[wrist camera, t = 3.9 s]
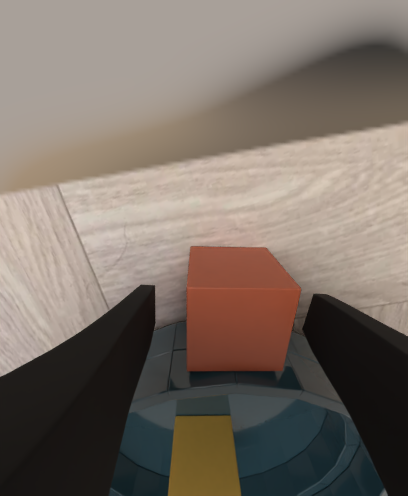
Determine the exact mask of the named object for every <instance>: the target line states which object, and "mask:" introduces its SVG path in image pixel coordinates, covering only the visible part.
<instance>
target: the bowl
mask: <svg viewBox="0 0 408 496" xmlns="http://www.w3.org/2000/svg"><path fill="white" fill-rule="evenodd" d="M209 415H230V416H231V421H232V429H233V436H234V444H235V451H236V459H237V466H238V474H239V482H240V489H241V496H388V495H387V492H386V490H385V488H384V486H383V483H382V481H381V479H380V477H379V475H378V473H377V470H376V468H375V466H374V464H373V462H372V460H371V457H370V455H369V453H368V451H367V449H366V447H365V445H364V443H363V441H362V439H361V437H360V435H359V433H358V431H357V429H356V427H355V425H354V423H353V421H352V419H351V417H350V415H349V413H348V411H347V410H346V408H345V406H344V404H343V403H342V401H341V399H340V398H339V396H338V394H337V393H336V391H335V389H334V388H333V386H332V384H331V383H330V381H329V379H328V378H327V376H326V374H325V373H324V371H323V369H322V368H321V366H320V364H319V362H318V361H317V359H316V357H315V356H314V354H313V352H312V350H311V348H310V346H309V344H308V341H307V339H306V337H305V336H302V335H300V334H297V333H295V332H291V336H290V341H289V345H288V349H287V354H286V358H285V362H284V366H283V370H282V371H187V321H185V322H178V323H174V324H171V325H169V326H166V327H163V328H160V329H158V330H155V331H154V332H153V337H152V341H151V346H150V349H149V352H148V355H147V358H146V361H145V364H144V367H143V370H142V373H141V376H140V379H139V382H138V385H137V388H136V391H135V394H134V397H133V400H132V403H131V406H130V410H129V413H128V417H127V421H126V425H125V429H124V433H123V437H122V441H121V446H120V450H119V454H118V458H117V462H116V467H115V471H114V475H113V479H112V484H111V488H110V492H109V496H168V489H169V478H170V467H171V456H172V446H173V435H174V424H175V417H176V416H209Z"/></svg>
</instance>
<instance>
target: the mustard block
mask: <svg viewBox="0 0 408 496" xmlns="http://www.w3.org/2000/svg"><path fill="white" fill-rule="evenodd" d="M168 496H241V489H240V482H239V474H238V466H237V459H236V451H235V444H234V436H233V429H232V421H231V416H230V415H209V416H176V417H175V424H174V435H173V446H172V456H171V467H170V478H169V489H168Z"/></svg>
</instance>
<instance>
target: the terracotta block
mask: <svg viewBox="0 0 408 496" xmlns="http://www.w3.org/2000/svg"><path fill="white" fill-rule="evenodd" d="M300 293H301V288H300V287H299V285H298V284H297V283H296V282H295V281H294V280H293V278H292V277H291V276H290V275H289V274H288V273H287V272H286V270H285V269H284V268H283V267H282V266H281V265H280V263H279V262H278V261H277V260H276V259H275V258H274V256H273V255H272V254H271V253H270V252H269V251H268V249H267V248H246V247H190V258H189V268H188V278H187V371H282V370H283V366H284V362H285V358H286V354H287V349H288V345H289V341H290V336H291V332H292V328H293V323H294V319H295V315H296V310H297V306H298V302H299V298H300Z"/></svg>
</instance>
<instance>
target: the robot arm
mask: <svg viewBox="0 0 408 496" xmlns="http://www.w3.org/2000/svg"><path fill="white" fill-rule="evenodd" d="M154 327H155V285H140V286H139V287H138V288H136V289H135V290H134V291H133V292H132V293H130V294H129V295H128V296H127V297H126V298H124V299H123V300H122V301H121V302H120V303H118V304H117V305H116V306H115V307H113V308H112V309H111V310H110V311H108V312H107V313H106V314H104V315H103V316H102V317H100V318H99V319H98V320H96V321H95V322H93V323H92V324H91V325H89V326H88V327H87V328H85V329H84V330H82V331H81V332H79V333H78V334H76V335H75V336H73V337H71V338H70V339H68V340H67V341H65V342H63V343H62V344H60V345H58V346H57V347H55V348H53V349H52V350H50V351H48V352H46V353H45V354H43V355H41V356H39V357H37V358H35V359H34V360H32V361H30V362H28V363H26V364H24V365H23V366H21V367H19V368H17V369H15V370H13V371H12V372H10V373H8V374H6V375H4V376H2V377H0V496H109V492H110V488H111V484H112V479H113V475H114V471H115V467H116V462H117V458H118V454H119V450H120V446H121V441H122V437H123V433H124V429H125V425H126V421H127V417H128V413H129V410H130V406H131V403H132V400H133V397H134V394H135V391H136V388H137V385H138V382H139V379H140V376H141V373H142V370H143V367H144V364H145V361H146V358H147V355H148V352H149V349H150V346H151V341H152V337H153V332H154ZM303 332H304V334H305V337H306V339H307V341H308V344H309V346H310V348H311V350H312V352H313V354H314V356H315V357H316V359H317V361H318V362H319V364H320V366H321V368H322V369H323V371H324V373H325V374H326V376H327V378H328V379H329V381H330V383H331V384H332V386H333V388H334V389H335V391H336V393H337V394H338V396H339V398H340V399H341V401H342V403H343V404H344V406H345V408H346V410H347V411H348V413H349V415H350V417H351V419H352V421H353V423H354V425H355V427H356V429H357V431H358V433H359V435H360V437H361V439H362V441H363V443H364V445H365V447H366V449H367V451H368V453H369V455H370V457H371V460H372V462H373V464H374V466H375V468H376V470H377V473H378V475H379V477H380V479H381V481H382V483H383V486H384V488H385V490H386V492H387V495H388V496H408V336H406V335H404V334H402V333H400V332H398V331H396V330H394V329H392V328H390V327H388V326H387V325H385V324H383V323H381V322H379V321H377V320H375V319H374V318H372V317H370V316H368V315H366V314H364V313H362V312H361V311H359V310H357V309H355V308H353V307H351V306H350V305H348V304H346V303H344V302H342V301H340V300H338V299H336V298H334V297H332V296H329V295H327V294H313V297H312V301H311V304H310V307H309V310H308V313H307V316H306V320H305V323H304V326H303Z"/></svg>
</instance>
